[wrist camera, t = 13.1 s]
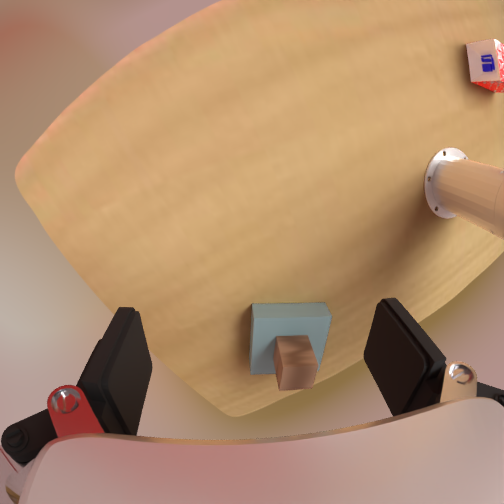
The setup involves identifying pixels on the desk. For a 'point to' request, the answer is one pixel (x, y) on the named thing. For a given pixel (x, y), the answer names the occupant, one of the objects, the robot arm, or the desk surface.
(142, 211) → the desk surface
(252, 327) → the plinth
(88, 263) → the desk surface
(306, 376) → the walnut block
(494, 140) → the desk surface
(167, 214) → the desk surface
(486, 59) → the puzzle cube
